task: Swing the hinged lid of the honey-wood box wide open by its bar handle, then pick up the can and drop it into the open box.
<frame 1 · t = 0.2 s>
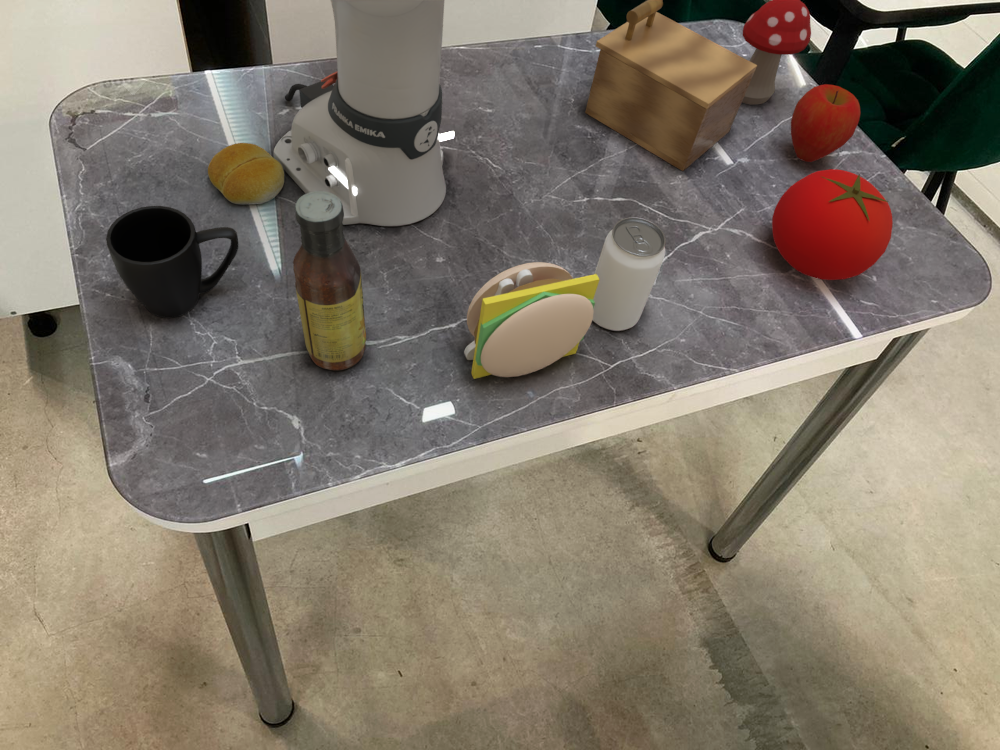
apple: (804, 158, 113), on the table
bread roll: (248, 183, 97), on the table
hamburger: (519, 353, 87), on the table
sauce bottle: (335, 350, 84), on the table
decorative mushroom: (749, 96, 121), on the table
tomato: (810, 259, 101), on the table
mug: (190, 297, 86), on the table
can: (611, 312, 92), on the table
box: (657, 122, 114), on the table
lid: (681, 42, 104), point 12 cm above the table, hinge at 0.0°
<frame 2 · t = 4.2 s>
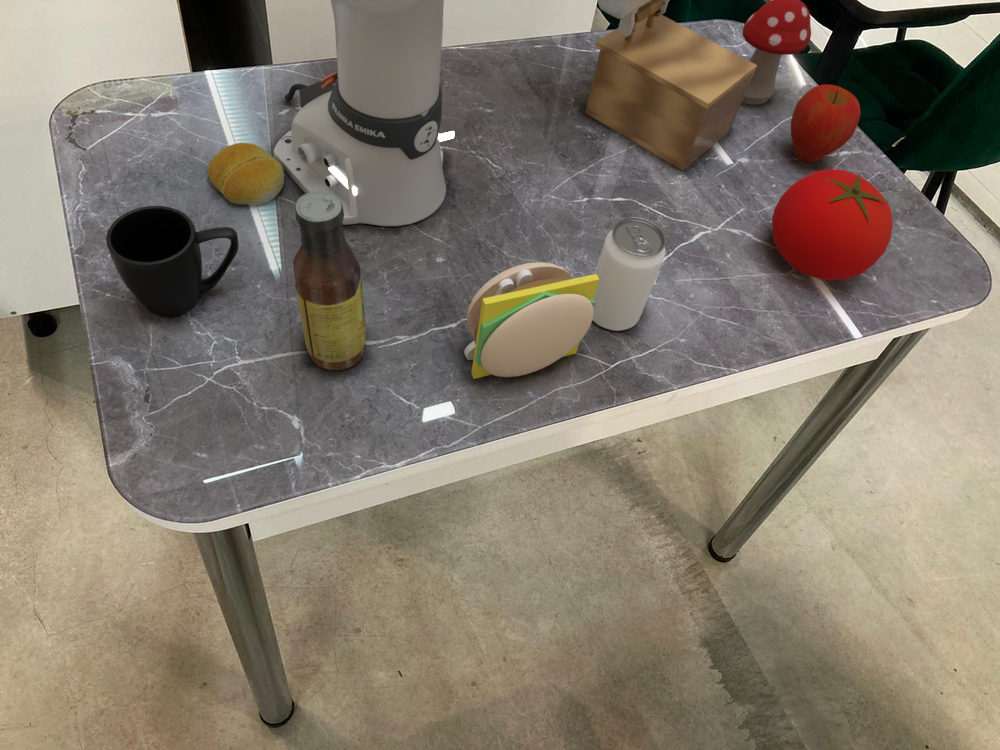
hand: (641, 23, 106), 12 cm above the table, tool pointing down, fingers closed on lid, 6 cm apart
lid: (681, 42, 104), point 12 cm above the table, hinge at -0.1°, touching gripper
everything else where it was.
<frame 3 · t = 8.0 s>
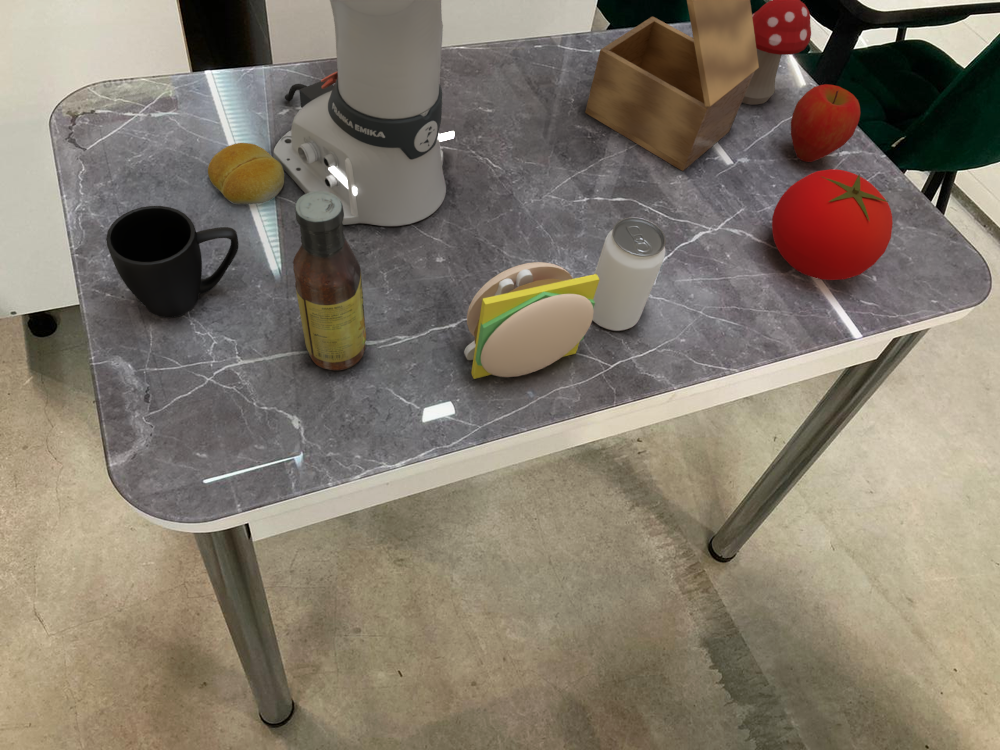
lid: (736, 14, 97), point 19 cm above the table, hinge at 58.1°, touching gripper
everything else where it was.
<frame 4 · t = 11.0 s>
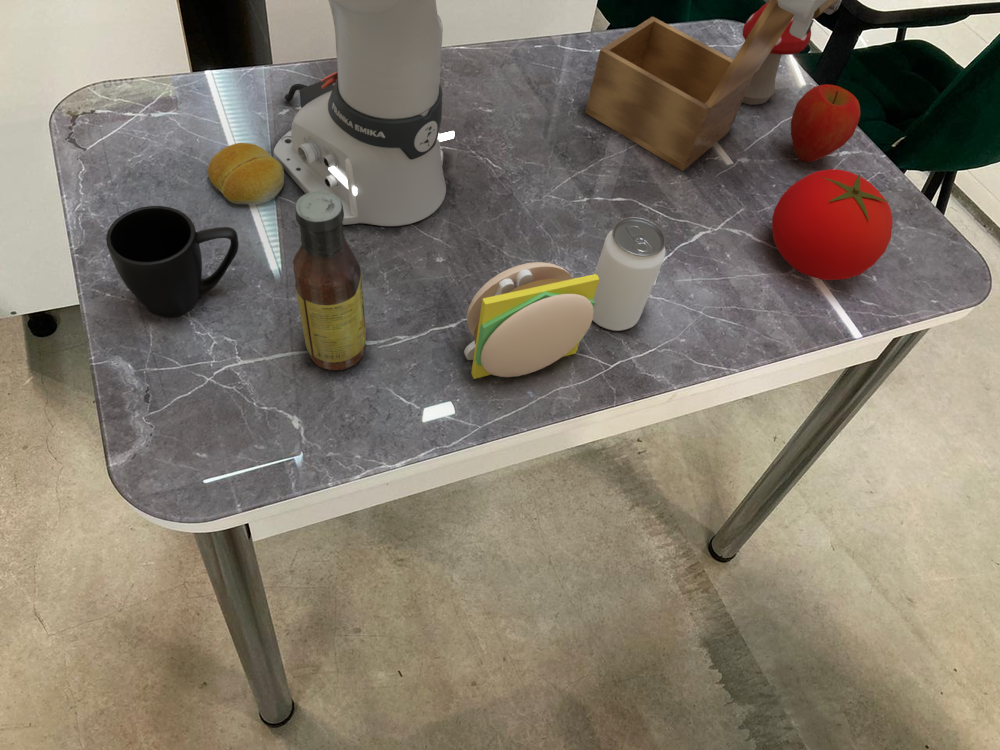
hand: (812, 22, 92), 22 cm above the table, tool pointing down, fingers closed on lid, 6 cm apart
lid: (782, 39, 95), point 19 cm above the table, hinge at 100.3°, touching gripper
everything else where it was.
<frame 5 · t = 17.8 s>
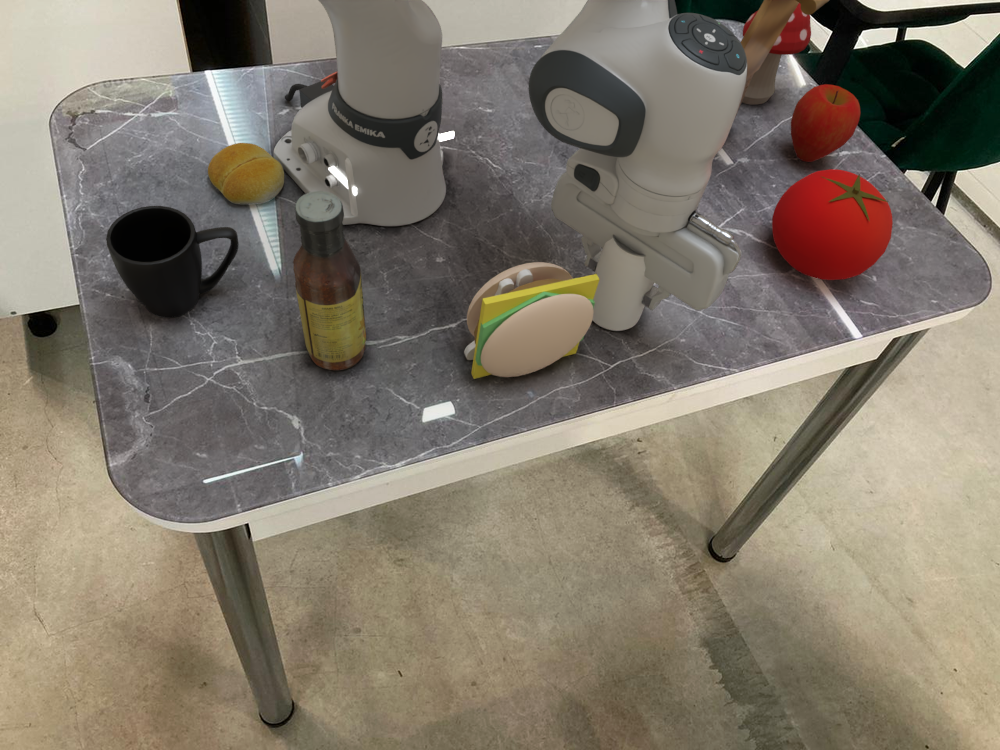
hand: (621, 284, 88), 5 cm above the table, tool pointing down, fingers closed on can, 6 cm apart
can: (611, 312, 92), on the table, touching gripper
lid: (780, 37, 95), point 19 cm above the table, hinge at 98.0°
everything else where it was.
when the fingers open (14 cm above the table, at t = 29.4 s): can drops 8 cm, resting on box.
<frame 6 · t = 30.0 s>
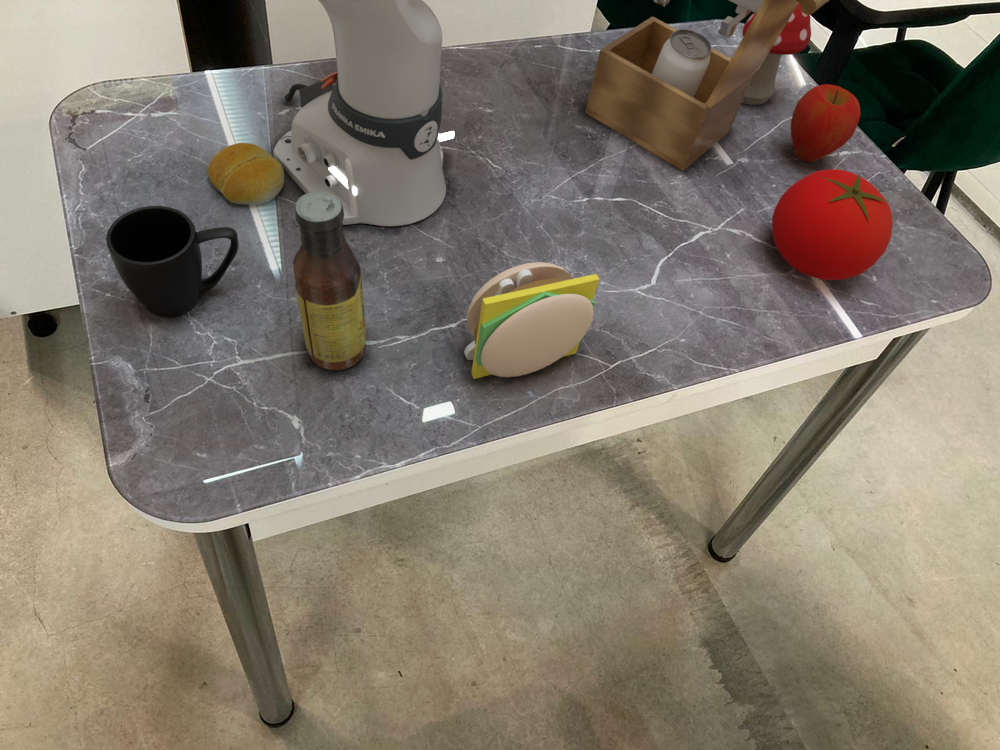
hand: (692, 18, 101), 16 cm above the table, tool pointing down, fingers open, 8 cm apart
can: (659, 116, 113), point 1 cm above the table, touching box
everything else where it was.
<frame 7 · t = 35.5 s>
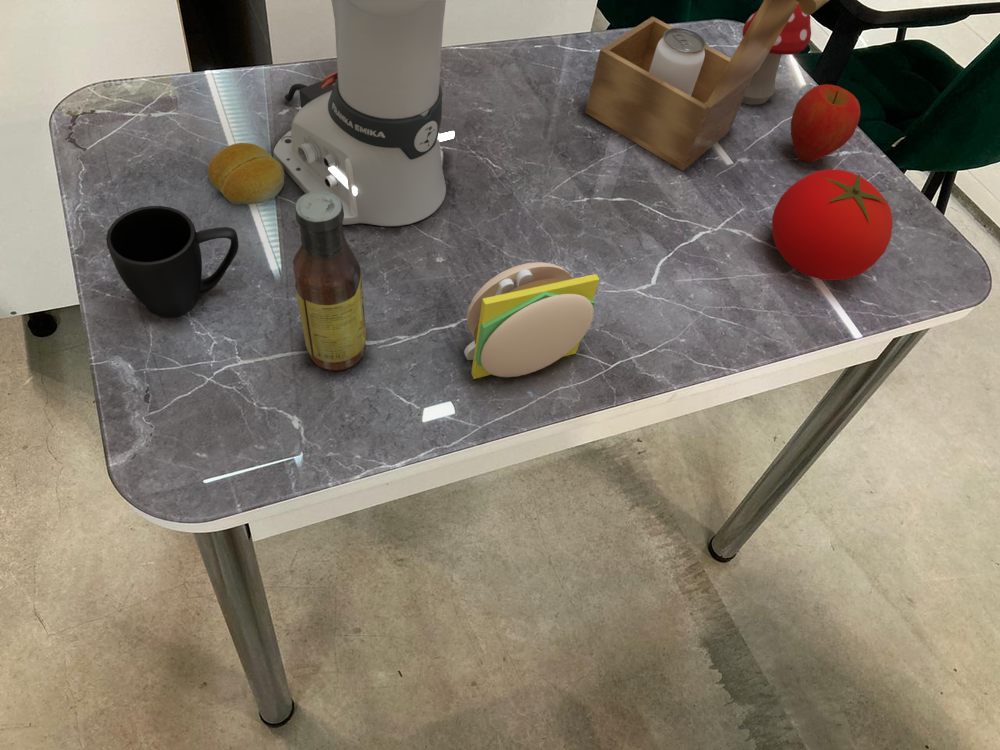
nothing on the table moved.
at the end: lid at +98° (first picture: +0°); can inside the target area in the box (0.0 cm from its centre), point 0.7 cm above the box's base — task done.
